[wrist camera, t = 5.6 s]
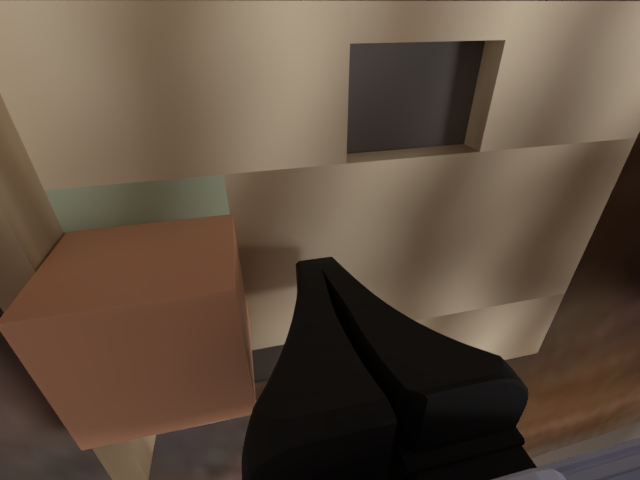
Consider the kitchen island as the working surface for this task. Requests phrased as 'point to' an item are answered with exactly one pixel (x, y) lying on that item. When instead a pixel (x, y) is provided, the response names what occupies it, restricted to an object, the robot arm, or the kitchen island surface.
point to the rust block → (138, 329)
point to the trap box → (326, 148)
